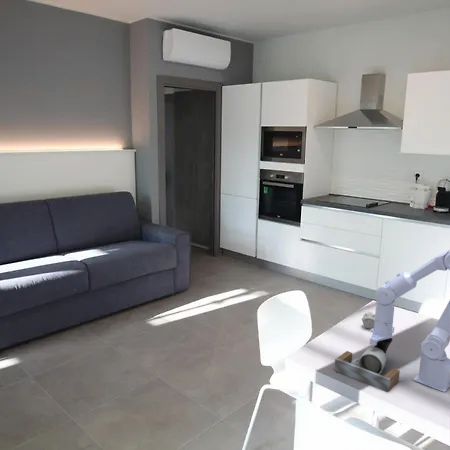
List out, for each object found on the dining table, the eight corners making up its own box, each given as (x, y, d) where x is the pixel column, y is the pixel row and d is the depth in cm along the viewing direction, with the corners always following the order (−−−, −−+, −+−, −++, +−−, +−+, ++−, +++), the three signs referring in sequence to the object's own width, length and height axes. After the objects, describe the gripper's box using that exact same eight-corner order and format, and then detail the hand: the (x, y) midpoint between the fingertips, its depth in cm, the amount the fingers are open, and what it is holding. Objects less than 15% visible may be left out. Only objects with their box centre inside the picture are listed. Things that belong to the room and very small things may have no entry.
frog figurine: (360, 330, 176) (361, 313, 174) (361, 323, 182) (363, 307, 181) (376, 332, 174) (378, 316, 172) (377, 326, 180) (378, 309, 179)
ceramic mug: (386, 368, 146) (388, 347, 145) (381, 379, 139) (383, 357, 138) (354, 360, 151) (355, 339, 150) (348, 371, 144) (349, 349, 143)
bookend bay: (398, 382, 138) (399, 370, 137) (387, 392, 132) (389, 380, 132) (346, 361, 150) (347, 350, 149) (334, 370, 144) (335, 358, 144)
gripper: (381, 310, 154) (378, 347, 156) (362, 322, 143) (359, 361, 146) (401, 316, 149) (397, 353, 151) (383, 329, 138) (379, 369, 141)
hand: (380, 358), depth 148 cm, fingers closed
